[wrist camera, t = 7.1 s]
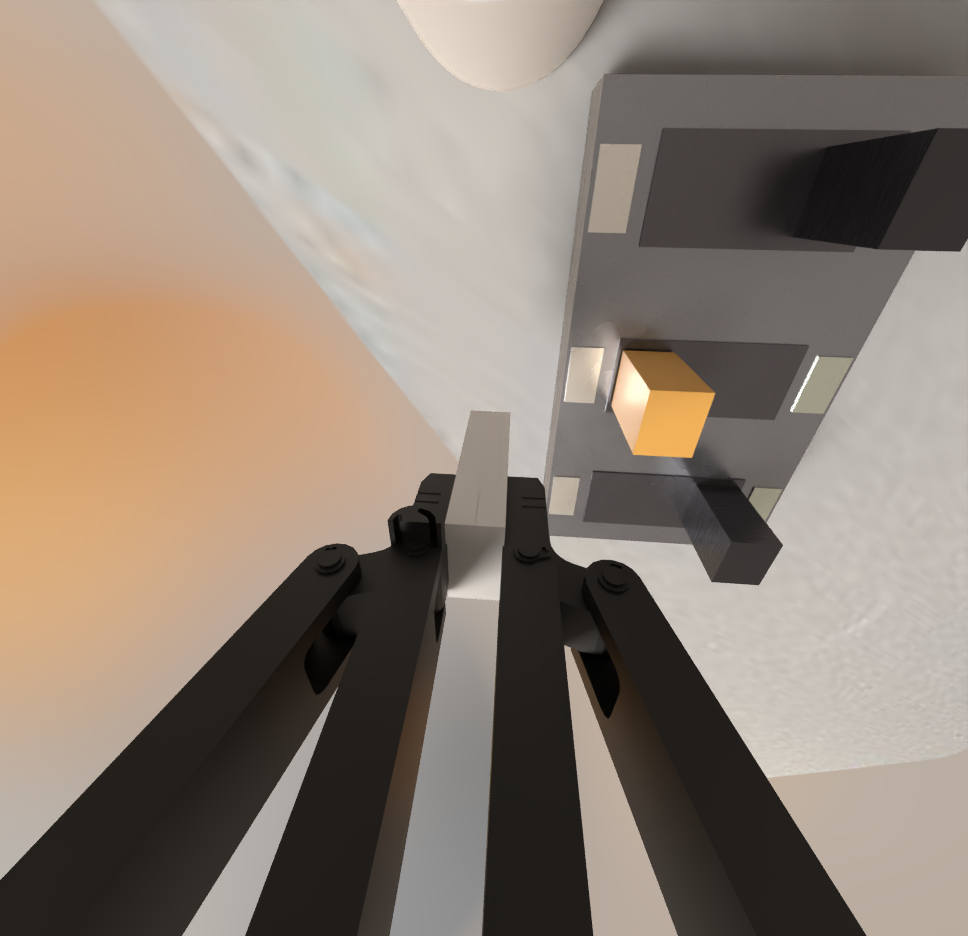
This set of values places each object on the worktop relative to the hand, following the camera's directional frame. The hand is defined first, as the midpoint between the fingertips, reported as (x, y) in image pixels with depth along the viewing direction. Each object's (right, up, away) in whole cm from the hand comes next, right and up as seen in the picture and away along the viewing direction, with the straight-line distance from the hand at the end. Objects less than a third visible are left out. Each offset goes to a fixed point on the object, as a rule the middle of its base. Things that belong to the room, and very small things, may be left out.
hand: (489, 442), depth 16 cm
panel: (+11, +5, +7) cm, 14 cm away
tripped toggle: (+8, +4, +5) cm, 10 cm away
